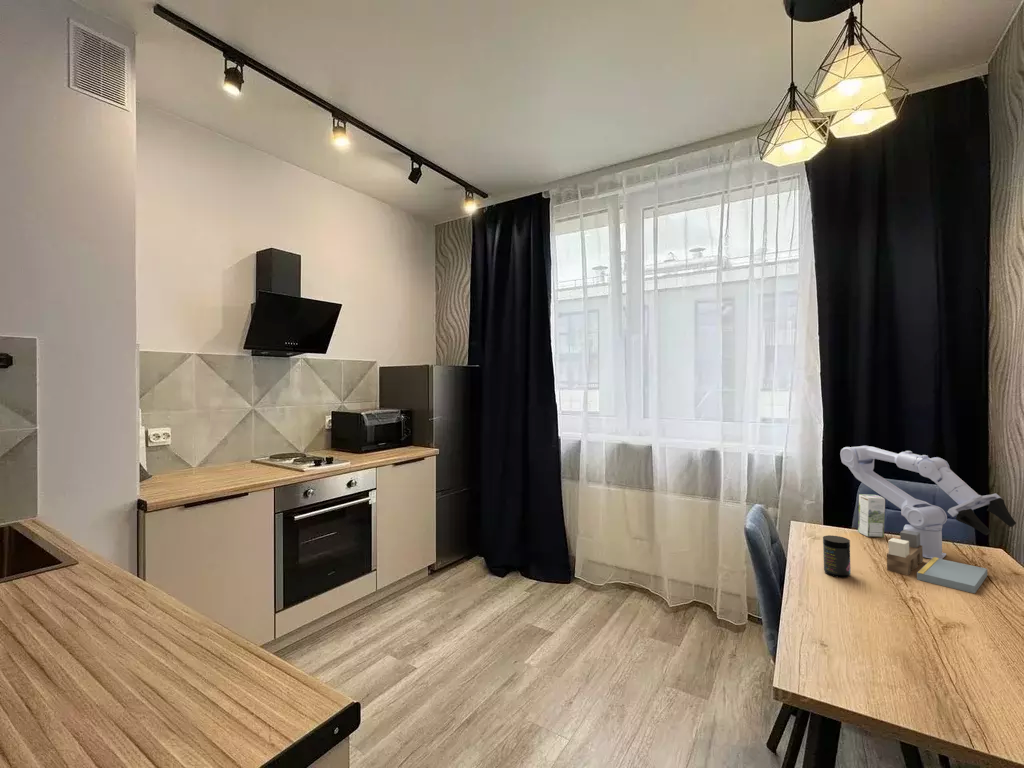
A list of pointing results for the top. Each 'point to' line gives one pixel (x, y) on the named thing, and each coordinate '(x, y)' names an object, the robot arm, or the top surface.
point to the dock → (952, 574)
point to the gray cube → (911, 538)
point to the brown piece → (905, 561)
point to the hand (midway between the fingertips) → (1000, 529)
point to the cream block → (898, 547)
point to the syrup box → (871, 515)
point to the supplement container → (836, 556)
